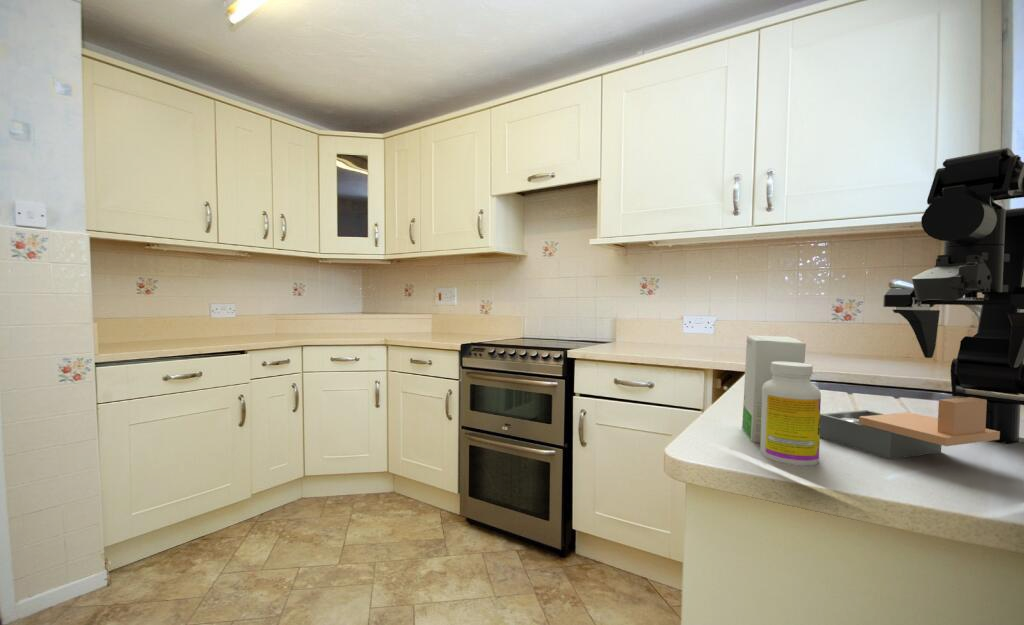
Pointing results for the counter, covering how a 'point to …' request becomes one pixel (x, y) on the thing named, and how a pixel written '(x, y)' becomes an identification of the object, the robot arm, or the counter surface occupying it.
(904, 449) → the tub
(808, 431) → the supplement bottle
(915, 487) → the counter surface
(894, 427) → the lid
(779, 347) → the skincare box
